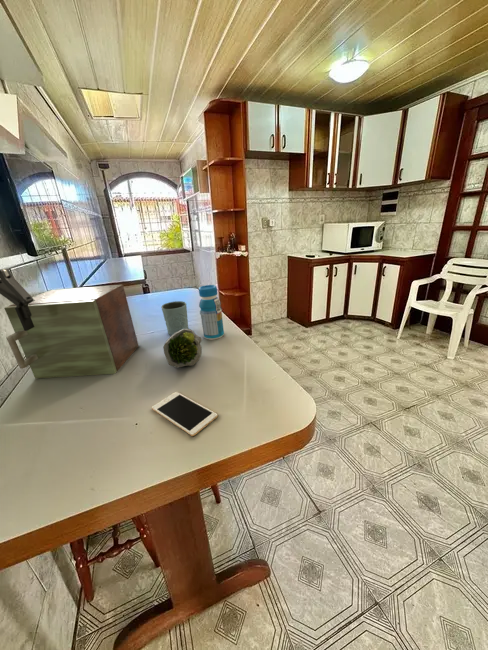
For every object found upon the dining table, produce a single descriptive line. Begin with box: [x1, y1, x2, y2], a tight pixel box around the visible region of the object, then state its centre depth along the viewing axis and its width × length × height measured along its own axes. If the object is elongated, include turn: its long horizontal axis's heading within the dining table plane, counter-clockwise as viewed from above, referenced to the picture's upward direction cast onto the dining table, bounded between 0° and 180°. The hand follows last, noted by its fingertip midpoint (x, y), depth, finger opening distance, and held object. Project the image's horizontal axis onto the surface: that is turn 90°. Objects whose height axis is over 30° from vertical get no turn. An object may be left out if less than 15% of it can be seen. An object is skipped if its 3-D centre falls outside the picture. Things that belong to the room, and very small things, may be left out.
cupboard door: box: [3, 300, 118, 379], centre depth 79 cm, size 7×26×24 cm, turn 89°
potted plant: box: [162, 328, 203, 369], centre depth 85 cm, size 12×13×15 cm
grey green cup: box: [161, 300, 189, 336], centre depth 111 cm, size 10×10×12 cm
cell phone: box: [151, 391, 218, 437], centre depth 65 cm, size 8×16×1 cm, turn 50°
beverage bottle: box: [198, 284, 225, 341], centre depth 103 cm, size 8×8×20 cm
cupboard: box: [8, 284, 139, 372], centre depth 91 cm, size 18×26×24 cm
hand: (6, 330), depth 74 cm, fingers open, 13 cm apart
